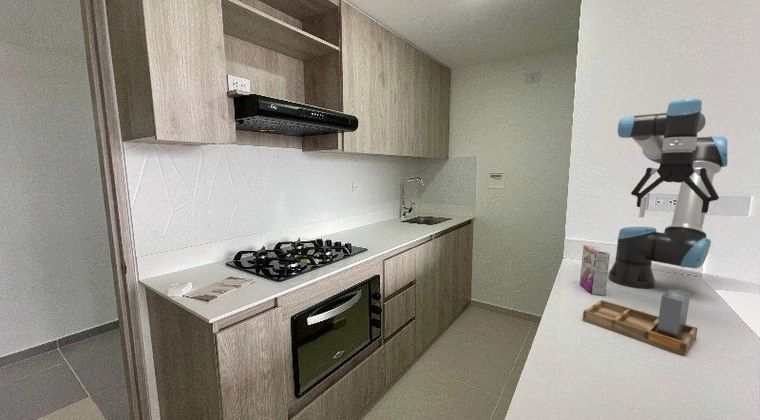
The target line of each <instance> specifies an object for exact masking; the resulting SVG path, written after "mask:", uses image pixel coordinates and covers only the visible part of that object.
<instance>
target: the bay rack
mask: <svg viewBox="0 0 760 420" xmlns="http://www.w3.org/2000/svg"><path fill="white" fill-rule="evenodd" d="M582 314H583V315H582V321H583V322H586V323H589V324H591V325H595V326H597V327H600V328H603V329H606V330H609V331H612V332H613V333H614V332H615V333H617V334H619V335H623V336H626V337H629V338H632V339H634V340H638V341H640V342H644V343H646V344H648V345H651V346H655V347H657V348H660V349H663V350H665V351H668V352H671V353H674V354H678V355H680V356H683V357H685V356H686V355H687V353H688V351H689V350H690V348H691V347H692V345H693V343H694V342H695V341H696V338H697V333H698V327H695V326H692V325H689V324H686V326H685V332H684V335H683V336H682V338H681V339H680V340H677V339H674V338H671V337H668V336H665V335H662V334H659V333H657V327H658V320H659V315H654V314H651V313H649V312H648V313H647V312H644V311H641V310H637V309H634V308H630V307H627V306H624V305H620V304H618V303H615V302H610V301H607V300H604V299H601V300H599V301H597V302H596V303H594V304H593V305H591V306H589V307H588V308H586V309H585V310H583V313H582Z"/></svg>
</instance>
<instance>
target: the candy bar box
mask: <svg viewBox="0 0 760 420" xmlns="http://www.w3.org/2000/svg"><path fill="white" fill-rule="evenodd" d="M610 255H611V253H610V252H609V251H607V250H605V249H602V248H601V247H599V246H598V245H590V244H589V245H588V244H583V247H582V256H581V257H582V258H581V266H580V267H581V268H580V277H579V279H580V280H579V284H580V285H581V287H583V288H584V289H585V290H586V291H587V292H589V294H590V295H595V296H606V290H607V282H608V275H609V272H608V271H609V263H610Z"/></svg>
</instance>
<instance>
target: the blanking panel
mask: <svg viewBox="0 0 760 420" xmlns="http://www.w3.org/2000/svg"><path fill="white" fill-rule="evenodd" d="M690 297H691V292H689V291H685V290H680V289H676V288H672V287H671V288H670V289H668V290H667V291H666V292H665V293H664V294H663V295H661V298H660V299H661V301H660V307H659V315H658V317H659V320H658V327H657V333H659V334H662V335H665V336H668V337H671V338H674V339H677V340H680V339H681V338H682V336H683V335H684V332H685V326H686V325H687V318H688V311H689V305H690V300H691V298H690Z"/></svg>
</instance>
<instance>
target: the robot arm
mask: <svg viewBox="0 0 760 420" xmlns="http://www.w3.org/2000/svg"><path fill="white" fill-rule="evenodd" d="M702 102H703V101H702V100H701V99H700V98H684V99H677V100H673V101H670V102H669V103H668V105H667V111H666V112H663V113H651V114H649V113H648V114H639V115H638V114H637V115H628V116H623V117H621V118H620V119H619V121H618V125H617V135H618V137H619V138H621V139H624V138H625V139H629V138H631V139H633V140H634V141H635V143H636V144H637V145H638V146H639V147H640V148H641V149H642V150H641V151H642V154H643V155H644V157H645V158H647V160H650V161H652V162H654V163H655V164H656V163H657V164H659V167H658V168H653V167H647V168H646V170H645V174H644V175H643V177H642V178H641V179H640V180H639V182H638V183H637V184H636V185H635V186H634V188H633V189H632V191H631V192H630V194H631V196H634V197H636V198H637V200H636V207H638V208H639V215H638V218H640V219H642V218H644V217H645V213H646V205H647V197H645V196H646V195H648V194H649V193H650V192H651V191H653V190H654V189H655V188H656V187H658V186H659V185H660V184H662V183H663V182H666V183H676V184H677V183H678V184H679V183H680V186H679V191H678V195H677V199H676V205H675V209H674V211H673V217H672V221H671V225H669V226H666V227H665V229H664V230H663V231H664V232H659V231H657V229H656V228H655V227H652V226H651V227H650V226H627V227H622V228H621V229H619V231H618V236H617V243H616V254H615V261H614V263H613V265H612V267H611V268H610V270H609V272H608V275H607V279H609V280H610V281H611V282H613V283H615V284H618V285H622V286H627V287H631V288H638V289H653V288H654V287H655V283H656V280H655V277H654V273H653V270H652V262H657V263H660V264H661V263H662V264H666V265H671V266H678V267H680V268H688V269H689V268H690V269H699V268H700V267H701V266H703V264H704V263H705V261H706V259H707V257H708V254H709V251H710V247H711V243H712V242H711V241H712V240H711V239H710V238H708V237H707V233H706V232H705V231H704V230H703V225H704V221H705V217H706V214H707V213H708V212H709V207H710V203H711V202H714V201H717V200H720V197H719V195H718V193H717V191H716V188H715V186H714V185H713V180H714V177H715V175H716V174H718V173H719V172H721V170H722V168H724V167H727V166H728V139H727V138H726V137H724V136H712V135H711V136H702V137H701V136H698V133H700V132H701V131H702V130H703V129H704V128H705V125H706V117H705V114H703V113H701V112H702V110H703V107H702V105H703V103H702ZM656 173H657V174H658V175H659V177H658V178H657V179H656V180H655V181H653V182H652V183H651V184H649V185H648V186H646V188H644V189H643V187H644V186H645V185H646V184H647V182H648V181H649V179H650V178H651V177H652V176H653V175H655V174H656ZM642 189H643V190H642ZM641 190H642V191H641Z"/></svg>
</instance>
